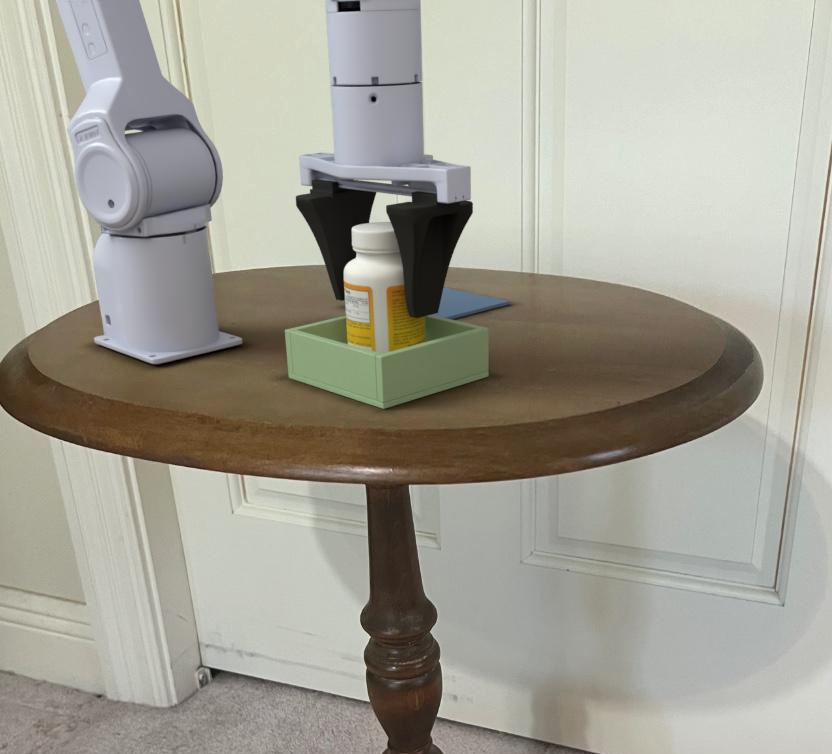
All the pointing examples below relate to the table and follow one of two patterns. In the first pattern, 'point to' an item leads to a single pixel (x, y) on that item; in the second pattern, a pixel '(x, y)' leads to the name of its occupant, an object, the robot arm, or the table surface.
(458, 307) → the mat
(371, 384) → the bin
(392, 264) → the supplement bottle
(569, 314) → the table surface
